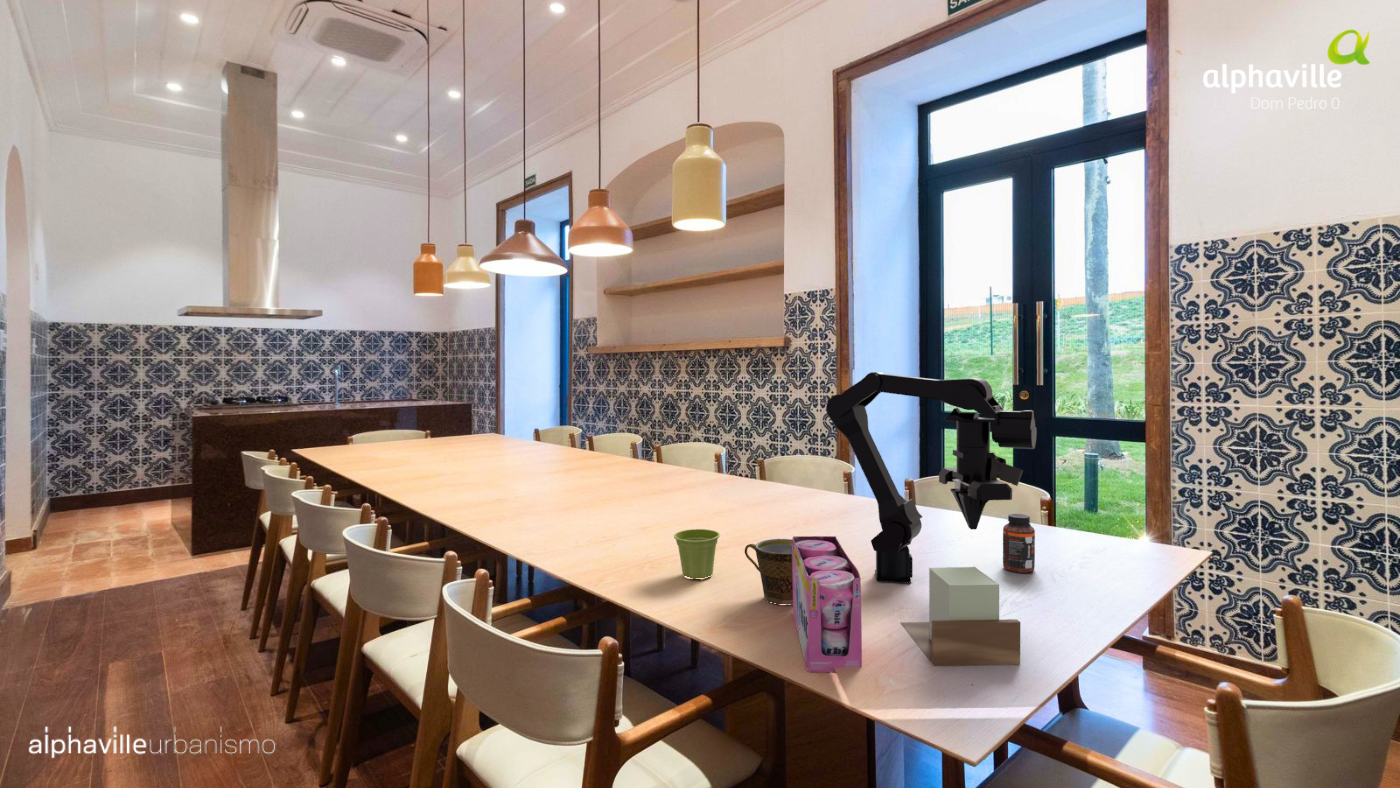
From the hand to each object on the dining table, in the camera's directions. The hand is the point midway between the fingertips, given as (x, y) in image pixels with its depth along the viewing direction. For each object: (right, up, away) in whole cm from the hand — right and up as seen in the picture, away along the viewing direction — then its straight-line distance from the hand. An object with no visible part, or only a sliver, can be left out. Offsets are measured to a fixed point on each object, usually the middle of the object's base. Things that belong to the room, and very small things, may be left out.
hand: (972, 528), depth 121 cm
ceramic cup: (-37, -13, -1) cm, 39 cm away
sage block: (-12, -12, -26) cm, 31 cm away
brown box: (-12, -13, -23) cm, 29 cm away
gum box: (-32, -14, -19) cm, 39 cm away
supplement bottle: (+15, -11, +14) cm, 23 cm away
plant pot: (-51, -13, +12) cm, 54 cm away
